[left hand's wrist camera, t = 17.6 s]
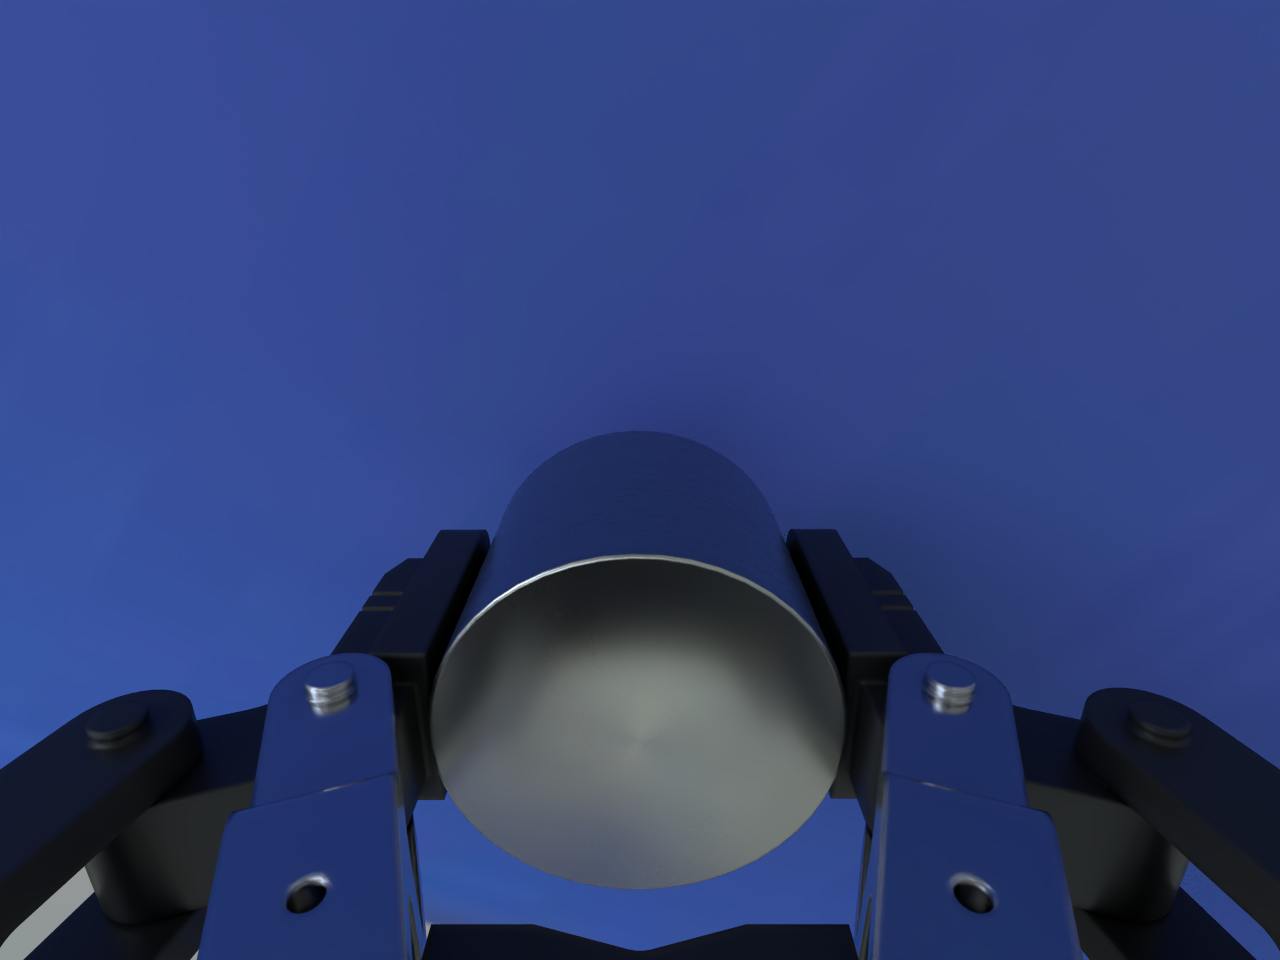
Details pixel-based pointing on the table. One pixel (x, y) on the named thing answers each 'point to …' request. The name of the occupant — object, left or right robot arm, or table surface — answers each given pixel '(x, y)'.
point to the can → (638, 672)
